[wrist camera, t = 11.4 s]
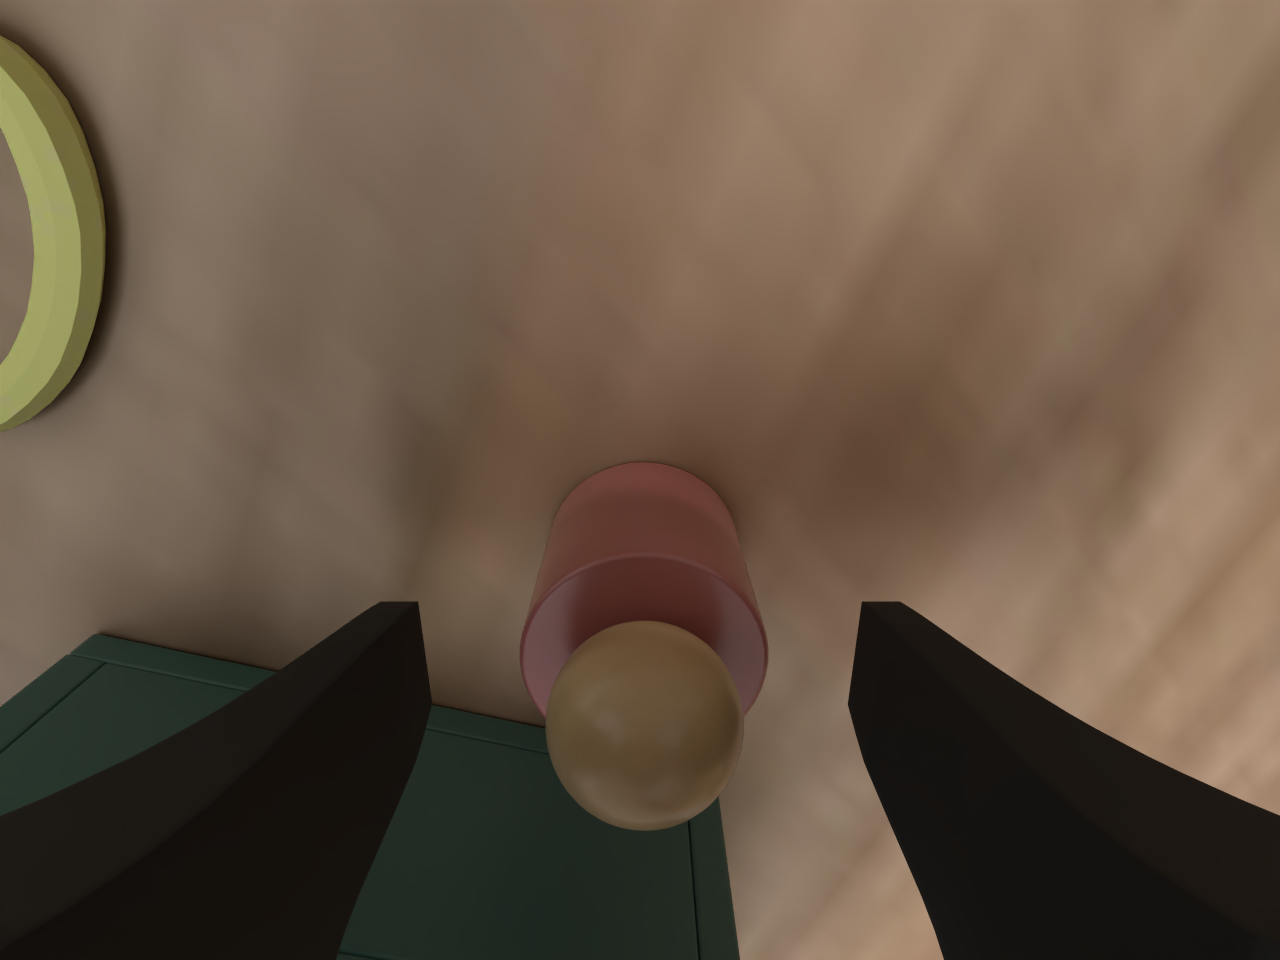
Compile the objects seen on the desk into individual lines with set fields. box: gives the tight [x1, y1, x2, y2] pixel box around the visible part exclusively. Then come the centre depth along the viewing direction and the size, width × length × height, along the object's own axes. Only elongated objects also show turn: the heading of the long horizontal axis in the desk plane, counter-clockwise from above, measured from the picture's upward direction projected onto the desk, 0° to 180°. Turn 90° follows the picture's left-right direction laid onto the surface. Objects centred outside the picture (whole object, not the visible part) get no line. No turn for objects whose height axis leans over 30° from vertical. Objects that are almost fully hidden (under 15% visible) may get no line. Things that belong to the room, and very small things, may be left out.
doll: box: [520, 462, 768, 831], centre depth 12 cm, size 4×4×7 cm
